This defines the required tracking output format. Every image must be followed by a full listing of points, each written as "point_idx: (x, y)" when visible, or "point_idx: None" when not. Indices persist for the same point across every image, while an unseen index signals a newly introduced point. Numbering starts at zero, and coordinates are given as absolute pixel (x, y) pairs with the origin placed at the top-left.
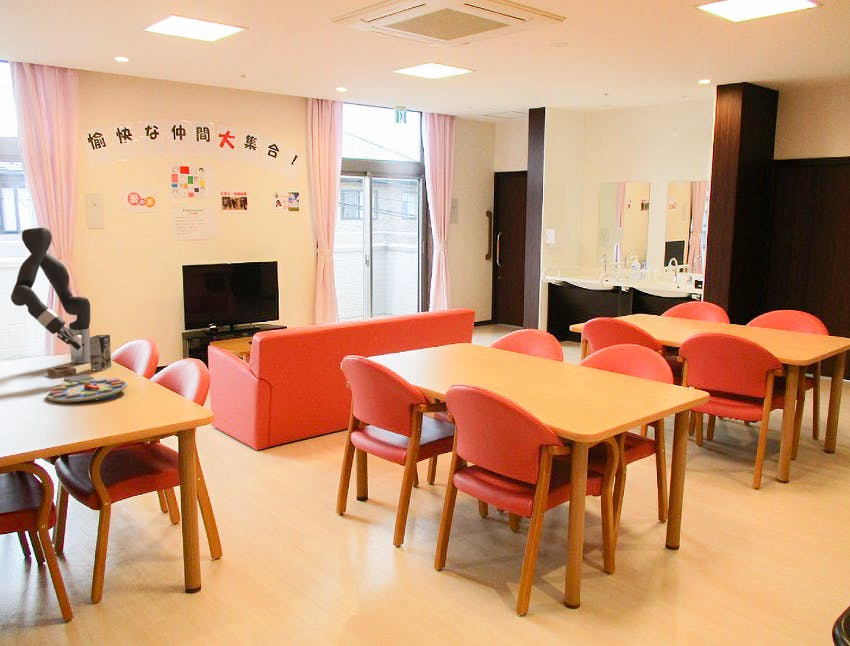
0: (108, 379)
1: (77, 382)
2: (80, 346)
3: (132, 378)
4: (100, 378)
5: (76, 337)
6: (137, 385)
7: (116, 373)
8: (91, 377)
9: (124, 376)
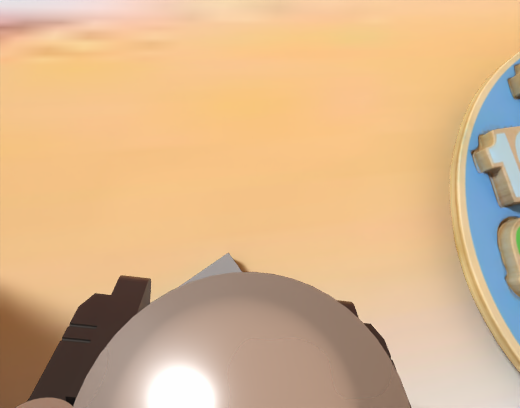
0: (475, 124)
1: (500, 314)
2: (353, 304)
3: (244, 39)
4: (502, 161)
5: (394, 394)
6: (423, 19)
7: (51, 129)
8: (222, 266)
9: (172, 80)
